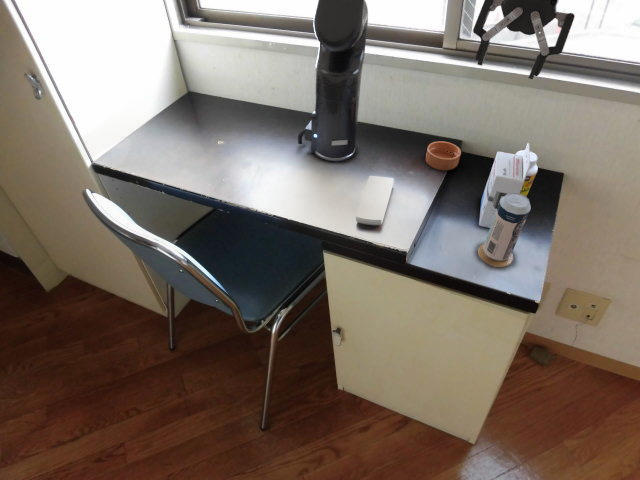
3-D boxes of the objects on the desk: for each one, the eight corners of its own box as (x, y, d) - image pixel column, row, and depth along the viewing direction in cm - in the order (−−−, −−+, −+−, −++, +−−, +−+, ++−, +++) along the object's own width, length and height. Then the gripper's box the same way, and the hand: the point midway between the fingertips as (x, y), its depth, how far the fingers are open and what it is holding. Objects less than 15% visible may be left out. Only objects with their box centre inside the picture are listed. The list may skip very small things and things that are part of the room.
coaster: (476, 262, 83) (476, 260, 83) (479, 240, 87) (480, 238, 87) (511, 271, 82) (512, 269, 81) (513, 248, 86) (514, 246, 85)
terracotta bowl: (422, 166, 104) (424, 155, 102) (428, 150, 109) (430, 138, 107) (455, 173, 102) (458, 162, 100) (459, 156, 107) (463, 145, 105)
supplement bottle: (504, 208, 94) (521, 165, 87) (491, 191, 98) (506, 149, 91) (530, 204, 95) (548, 162, 88) (515, 188, 99) (532, 146, 92)
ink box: (480, 199, 96) (501, 135, 86) (505, 204, 95) (530, 140, 85) (478, 226, 90) (500, 161, 80) (504, 231, 89) (531, 166, 79)
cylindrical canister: (511, 264, 82) (534, 211, 74) (483, 260, 83) (503, 206, 75) (508, 245, 86) (530, 193, 77) (481, 241, 86) (500, 188, 78)
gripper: (497, -51, 70) (460, 62, 78) (598, -31, 67) (548, 85, 75) (501, -45, 77) (466, 59, 84) (593, -26, 73) (547, 81, 81)
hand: (504, 71), depth 79 cm, fingers open, 8 cm apart
